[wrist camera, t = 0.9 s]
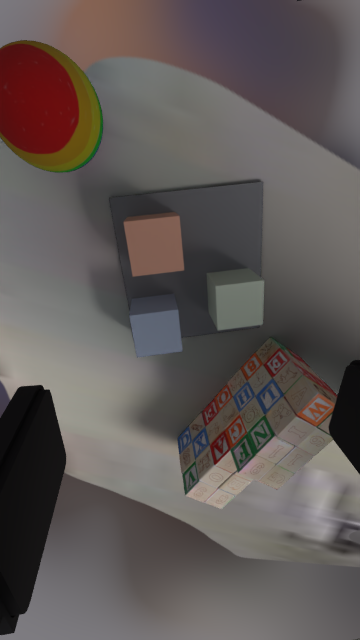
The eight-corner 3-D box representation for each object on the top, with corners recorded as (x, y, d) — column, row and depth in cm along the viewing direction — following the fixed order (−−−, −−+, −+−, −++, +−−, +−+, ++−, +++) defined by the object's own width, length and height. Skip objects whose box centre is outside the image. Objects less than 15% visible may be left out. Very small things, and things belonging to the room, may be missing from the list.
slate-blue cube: (174, 293, 34) (178, 309, 29) (178, 330, 36) (182, 351, 31) (131, 298, 34) (129, 315, 29) (138, 336, 36) (137, 357, 31)
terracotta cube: (174, 211, 30) (179, 215, 26) (179, 259, 32) (184, 270, 28) (127, 217, 30) (123, 221, 25) (134, 264, 32) (132, 276, 27)
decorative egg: (26, 48, 24) (-48, -39, 15) (120, 98, 26) (105, 50, 17) (7, 150, 27) (-65, 130, 18) (93, 189, 29) (68, 188, 20)
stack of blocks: (207, 452, 46) (226, 535, 35) (176, 437, 44) (186, 521, 33) (301, 356, 40) (360, 420, 29) (270, 334, 38) (320, 394, 27)
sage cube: (248, 268, 33) (264, 280, 29) (248, 307, 36) (263, 324, 31) (206, 273, 33) (215, 286, 29) (208, 312, 35) (217, 330, 31)
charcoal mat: (261, 181, 30) (263, 181, 30) (258, 325, 37) (259, 327, 37) (109, 197, 29) (108, 197, 29) (135, 342, 36) (135, 343, 36)
